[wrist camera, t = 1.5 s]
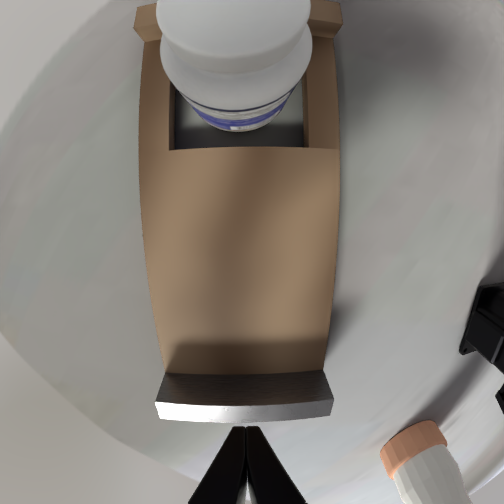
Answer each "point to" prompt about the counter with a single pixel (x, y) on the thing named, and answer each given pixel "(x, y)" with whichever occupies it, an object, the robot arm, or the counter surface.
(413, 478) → the pepper shaker
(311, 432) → the counter surface
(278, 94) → the pill bottle
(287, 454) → the counter surface
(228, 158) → the brown long shallow piece
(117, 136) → the counter surface
